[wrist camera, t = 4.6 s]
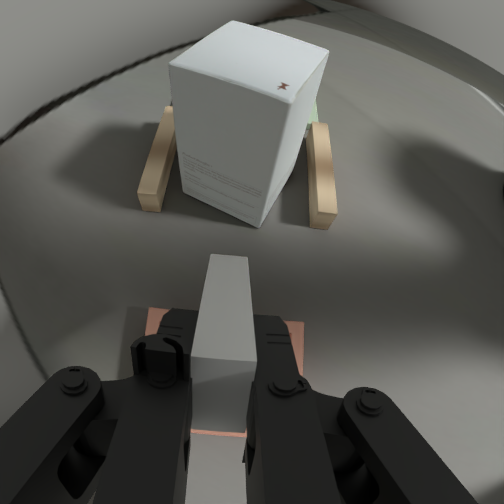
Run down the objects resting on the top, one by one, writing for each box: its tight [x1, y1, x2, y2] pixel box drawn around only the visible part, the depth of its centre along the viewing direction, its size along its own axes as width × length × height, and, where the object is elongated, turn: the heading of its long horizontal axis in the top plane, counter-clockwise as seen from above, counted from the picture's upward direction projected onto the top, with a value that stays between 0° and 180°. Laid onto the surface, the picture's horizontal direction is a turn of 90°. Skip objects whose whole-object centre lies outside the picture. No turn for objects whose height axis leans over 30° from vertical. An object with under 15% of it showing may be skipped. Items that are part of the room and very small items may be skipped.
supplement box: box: [168, 21, 329, 228], centre depth 21 cm, size 7×7×13 cm
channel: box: [137, 106, 337, 230], centre depth 26 cm, size 10×15×2 cm, turn 87°
